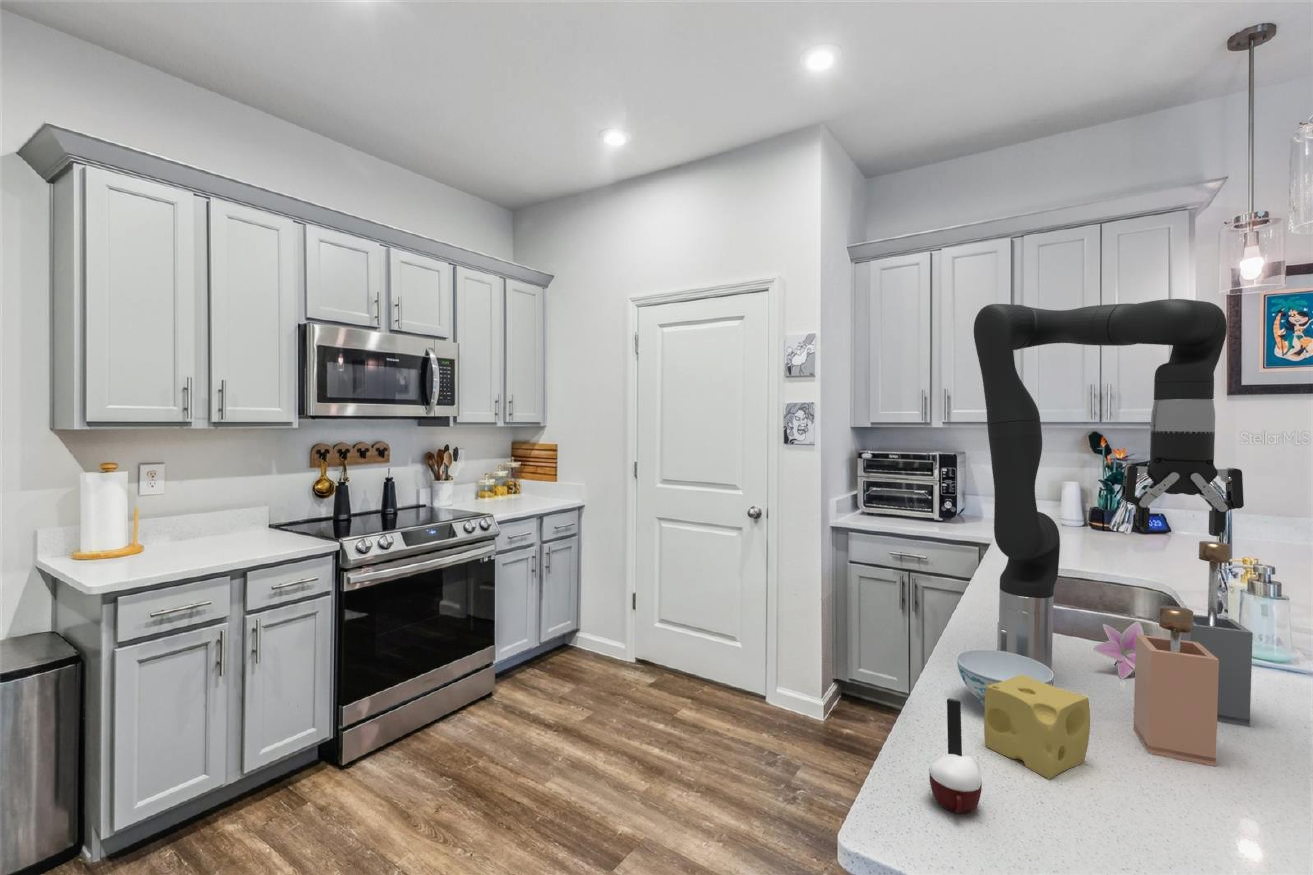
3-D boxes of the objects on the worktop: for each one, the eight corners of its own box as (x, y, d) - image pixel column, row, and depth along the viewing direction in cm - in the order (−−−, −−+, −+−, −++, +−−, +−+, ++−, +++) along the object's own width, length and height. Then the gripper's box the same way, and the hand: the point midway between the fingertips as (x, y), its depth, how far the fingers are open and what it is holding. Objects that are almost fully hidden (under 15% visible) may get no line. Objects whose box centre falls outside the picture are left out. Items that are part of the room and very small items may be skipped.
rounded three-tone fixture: (969, 833, 75) (973, 741, 74) (917, 808, 79) (921, 721, 78) (991, 796, 82) (995, 711, 81) (943, 775, 86) (946, 695, 85)
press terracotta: (1148, 753, 93) (1150, 650, 92) (1133, 729, 100) (1136, 634, 99) (1215, 766, 89) (1218, 660, 89) (1195, 740, 96) (1198, 642, 96)
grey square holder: (1188, 716, 104) (1191, 625, 104) (1172, 697, 112) (1175, 612, 111) (1249, 726, 101) (1252, 632, 101) (1229, 706, 108) (1232, 618, 108)
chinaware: (937, 697, 111) (938, 656, 111) (993, 683, 117) (994, 644, 117) (1013, 736, 97) (1014, 689, 97) (1072, 719, 103) (1074, 674, 103)
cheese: (1050, 781, 85) (1051, 712, 85) (979, 745, 95) (980, 682, 94) (1090, 762, 90) (1092, 697, 90) (1019, 730, 100) (1020, 670, 99)
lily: (1080, 674, 124) (1099, 643, 119) (1086, 638, 133) (1104, 607, 128) (1150, 706, 118) (1173, 674, 113) (1151, 666, 127) (1173, 635, 122)
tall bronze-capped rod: (1198, 637, 105) (1201, 544, 104) (1187, 628, 109) (1190, 539, 109) (1237, 642, 102) (1240, 547, 102) (1224, 632, 107) (1227, 542, 107)
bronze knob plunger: (1157, 715, 93) (1160, 611, 93) (1147, 701, 98) (1150, 602, 97) (1200, 723, 91) (1204, 616, 90) (1188, 708, 96) (1191, 607, 95)
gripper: (1131, 428, 93) (1128, 532, 93) (1254, 430, 87) (1250, 541, 87) (1119, 428, 100) (1116, 525, 100) (1231, 429, 93) (1228, 533, 94)
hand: (1178, 532), depth 94 cm, fingers open, 8 cm apart
